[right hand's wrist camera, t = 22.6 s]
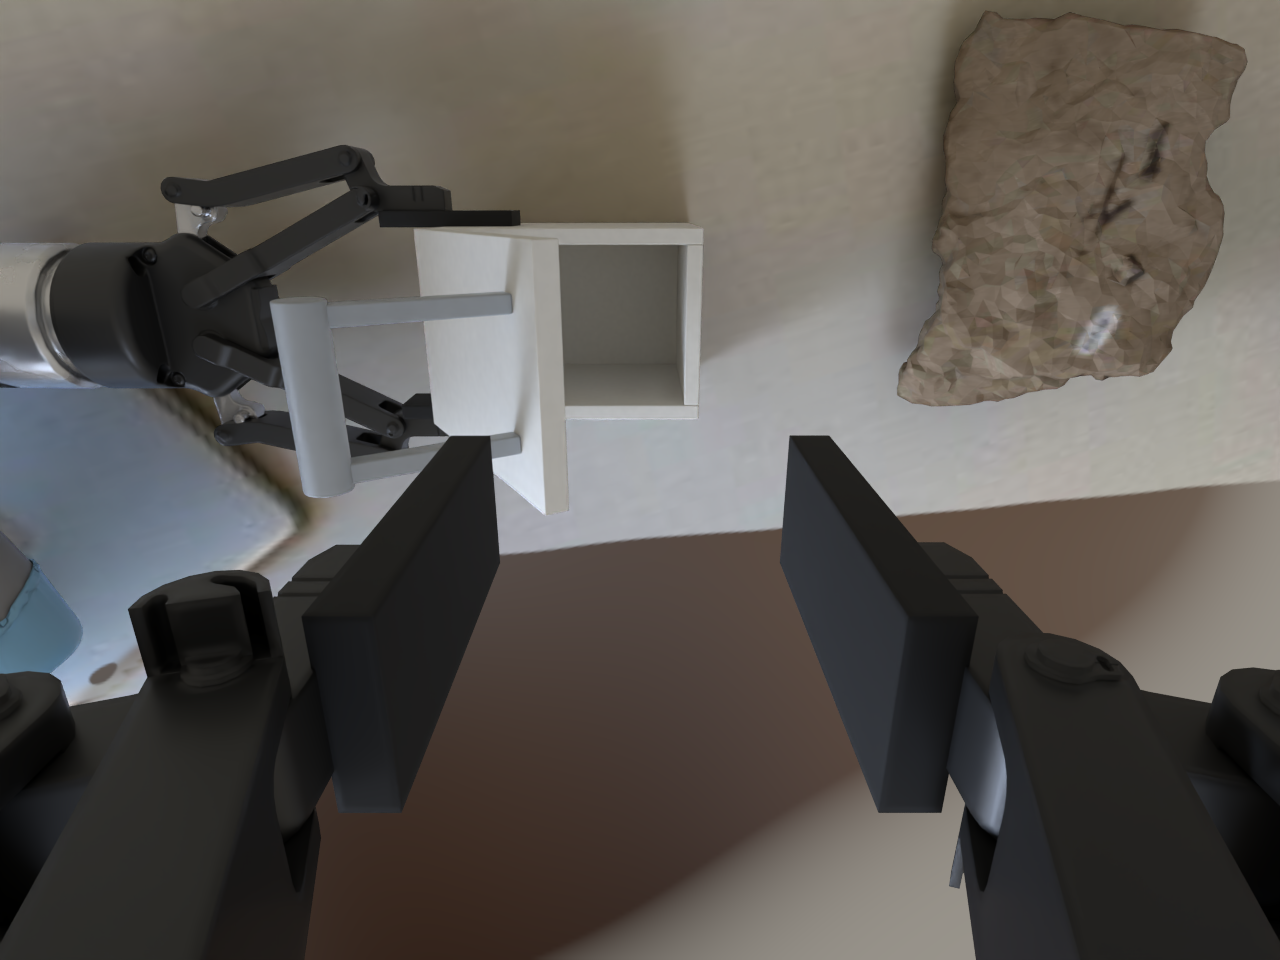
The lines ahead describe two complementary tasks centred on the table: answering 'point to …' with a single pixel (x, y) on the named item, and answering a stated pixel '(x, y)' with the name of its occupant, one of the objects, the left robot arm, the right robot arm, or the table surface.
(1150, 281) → the stone
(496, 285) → the lid
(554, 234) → the chest
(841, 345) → the table surface
